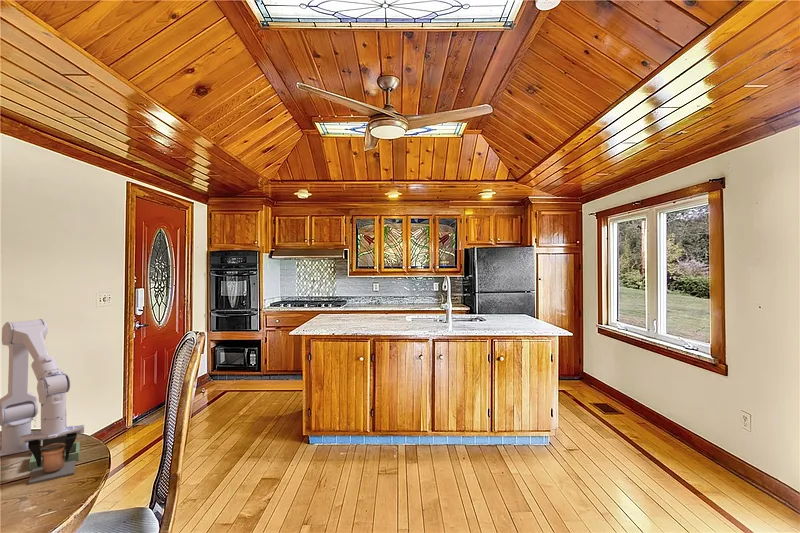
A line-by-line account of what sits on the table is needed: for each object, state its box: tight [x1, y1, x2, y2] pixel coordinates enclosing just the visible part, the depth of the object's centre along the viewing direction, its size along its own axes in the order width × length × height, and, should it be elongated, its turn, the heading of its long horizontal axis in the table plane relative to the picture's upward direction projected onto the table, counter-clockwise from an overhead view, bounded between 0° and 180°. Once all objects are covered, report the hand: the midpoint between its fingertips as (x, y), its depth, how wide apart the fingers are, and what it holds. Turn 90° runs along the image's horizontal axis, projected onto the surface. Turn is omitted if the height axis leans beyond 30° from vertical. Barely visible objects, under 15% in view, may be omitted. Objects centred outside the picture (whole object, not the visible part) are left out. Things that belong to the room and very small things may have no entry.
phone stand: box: [42, 436, 66, 448], centre depth 139 cm, size 9×6×12 cm, turn 40°
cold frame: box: [28, 441, 81, 472], centre depth 131 cm, size 10×12×2 cm
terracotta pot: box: [40, 443, 66, 472], centre depth 123 cm, size 6×6×6 cm
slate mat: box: [28, 460, 76, 485], centre depth 123 cm, size 9×10×1 cm
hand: (53, 462), depth 123 cm, fingers closed on terracotta pot, 6 cm apart
